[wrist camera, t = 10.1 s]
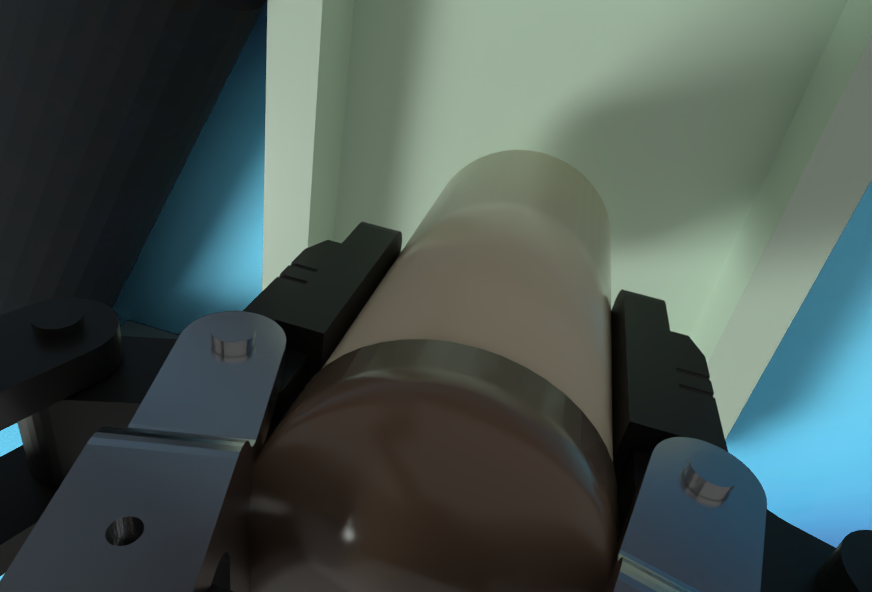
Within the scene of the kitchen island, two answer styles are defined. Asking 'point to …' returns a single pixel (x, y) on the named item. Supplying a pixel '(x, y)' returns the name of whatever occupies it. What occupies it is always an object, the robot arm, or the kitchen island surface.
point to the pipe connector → (100, 131)
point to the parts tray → (591, 138)
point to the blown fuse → (459, 407)
